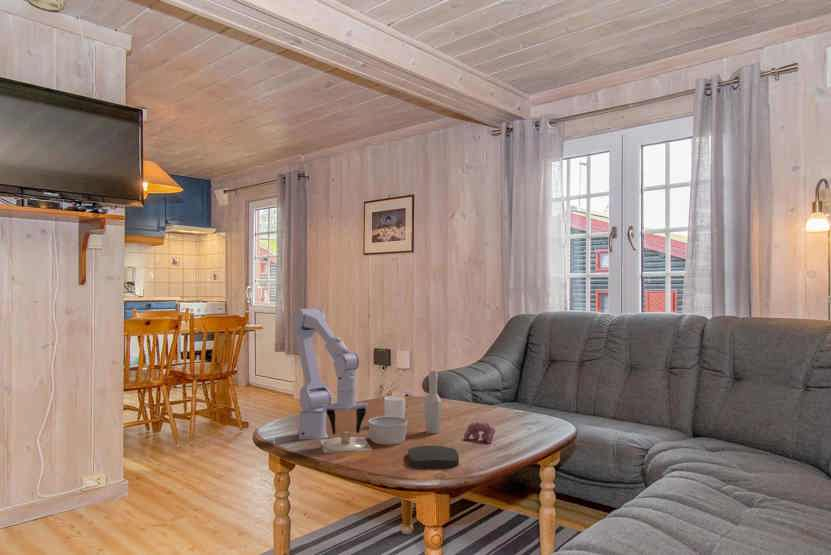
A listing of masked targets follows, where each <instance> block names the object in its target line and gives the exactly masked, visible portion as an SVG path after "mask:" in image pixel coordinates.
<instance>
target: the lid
mask: <svg viewBox="0 0 831 555" xmlns="http://www.w3.org/2000/svg"><path fill="white" fill-rule="evenodd" d="M340 435H341V436H340V437H339V436H337V437H333V438H327V439H328V440H326V441H325V442H324V448H326V449H328V450H333V451H348V452H356V451H355V450H360V449H363V448H365V447H366V446H367V442H368V440H367V439H366V438H365V439H366V440H367V441H366V440H365V439H362V438H359V437H356V436H351V432H350V431H341V434H340Z"/></svg>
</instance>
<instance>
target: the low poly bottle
mask: <svg viewBox="0 0 831 555" xmlns="http://www.w3.org/2000/svg"><path fill="white" fill-rule="evenodd" d="M438 379H439V375H438V371H437V369H430V370H429V372H428V394H427V395H426V397H425V398H424V402H423V407H424V408H423V412H424V413H423V414H424V424H425V432H426V434H429V433H437V434H439V433H440V428H441V422H442V421H441V420H442V413H443V411H442V410H443V407H442V405H443V401H442V399H441V397H440V396H439V394H438V381H439V380H438Z"/></svg>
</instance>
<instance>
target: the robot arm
mask: <svg viewBox="0 0 831 555" xmlns="http://www.w3.org/2000/svg"><path fill="white" fill-rule="evenodd" d="M291 323H292V327H293V331H294V332H293V333H294V334H295V337H296V342H297V349H298V353H299V357H300V363H301V364H300V365H301V369H302V373H303V379H304V385H302V386H301V388H300V390H299V405H300V407H301V409H302V410H301V411H298V428H297V434H298V438H299V440H314V439H329V436H328V433H327V417H328V419H329V422H330V425H331V426H330V427H331V430H332V435H336V412H337V411H339V412H341V411H355V412H356V418H355V419H356V421H355V422H356V423H355V424H356V426H355V432H356V433H357V434H359V433H360V429H361V426H362V422H363V420H364V417H365V416H366V413H367V411H369V409H370V407H369V406H370V404H369V402H356V370H358V368H359V366H360V358H359V356H358V354H357V353H356V352H354V351H352V350H349V348H348V346H346V344H345V343H344V341H342V340H343V339H342V338H341V337H339V336H335V335H334V333H333V332H332V330H331V328H330V326H329V325H328V323H327V321H326V314H325V312H324V310H323V309H322V308H320V307H316V308H296V309H295V310H294V311H293V314H292V316H291ZM316 333H317V334H318V335H319V336H320V337H321V338H322V340H323V341H324V342H325V345H324V347H325V349H326V351H327V352H328V353H329V355H330V356H331V358H332V360H333V367H334V368H333V369H335V375H336V378H337V384H336V386H337V387H336V388H337V390H336V391H337V393H336V394H337V396H336V400H337V401H336V403H332V402H333V401H332V400H333V399H332V398H333V397H332V394H331V393H332V392H330V389H329V386H328V384H327V383H325V382H324V381H323V380H321V375H320V371H319V367H318V362H317V361H318V360H317V356H316V352H315V351H316V350H315V346H314V341H313V335H314V334H316Z"/></svg>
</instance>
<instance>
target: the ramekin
mask: <svg viewBox="0 0 831 555" xmlns="http://www.w3.org/2000/svg"><path fill="white" fill-rule="evenodd" d="M408 422H409V421H408V419H406V418H405V417H404V418H401V417H395V416H385V415H383V416H376V417H372V418H370V419H369V420H368V421H367V424H368V425H367V426H368V431H369V432H368V434H369V438H370V441H371V442H372V443H374V444H377V445H385V446H387V445H388V446H390V445H398V444H399V445H400V444H401V443H404V441H405V440H406V435H407V429H408V428H407V427H408Z"/></svg>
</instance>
